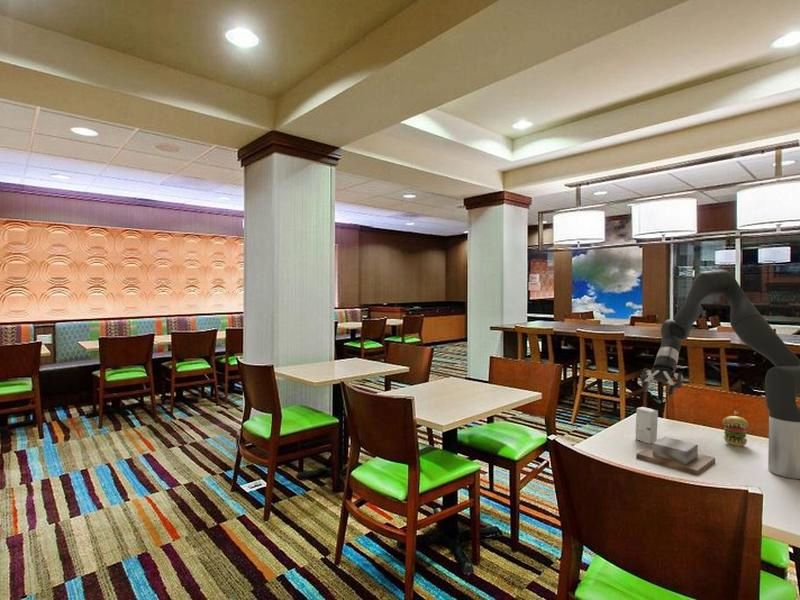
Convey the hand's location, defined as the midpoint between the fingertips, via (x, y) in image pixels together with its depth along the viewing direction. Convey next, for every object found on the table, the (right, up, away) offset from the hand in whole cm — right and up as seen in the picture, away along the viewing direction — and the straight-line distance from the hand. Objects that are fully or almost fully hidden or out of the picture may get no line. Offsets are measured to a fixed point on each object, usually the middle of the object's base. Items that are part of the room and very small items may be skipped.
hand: (656, 393), depth 174 cm
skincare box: (-8, -17, -8) cm, 20 cm away
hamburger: (+22, -17, -12) cm, 30 cm away
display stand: (-9, -17, -26) cm, 32 cm away
